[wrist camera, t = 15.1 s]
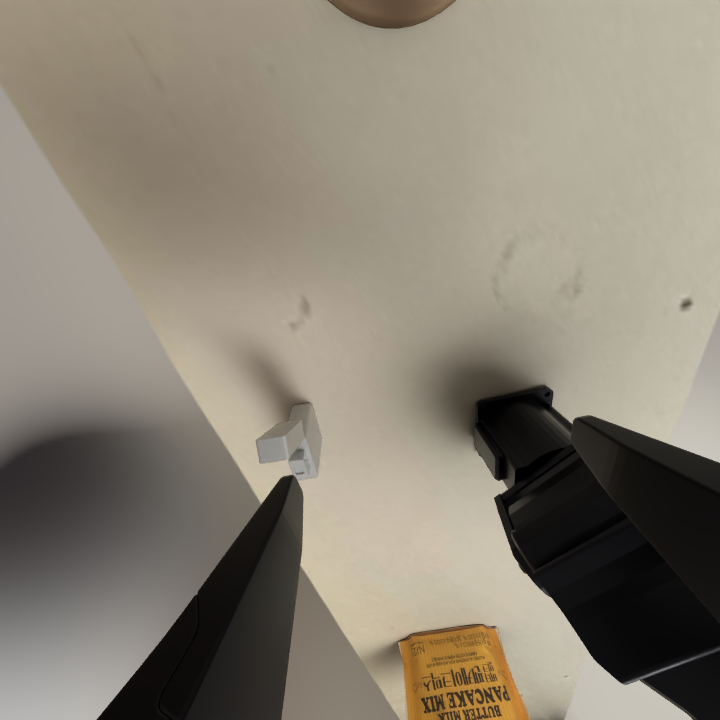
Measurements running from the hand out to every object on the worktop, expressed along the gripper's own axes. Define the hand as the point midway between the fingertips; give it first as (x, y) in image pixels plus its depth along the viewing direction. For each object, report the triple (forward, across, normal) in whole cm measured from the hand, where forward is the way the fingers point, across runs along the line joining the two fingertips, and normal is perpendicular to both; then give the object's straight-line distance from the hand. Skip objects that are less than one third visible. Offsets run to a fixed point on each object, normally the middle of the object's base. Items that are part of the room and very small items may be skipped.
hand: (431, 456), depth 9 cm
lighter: (+13, +8, +6) cm, 17 cm away
